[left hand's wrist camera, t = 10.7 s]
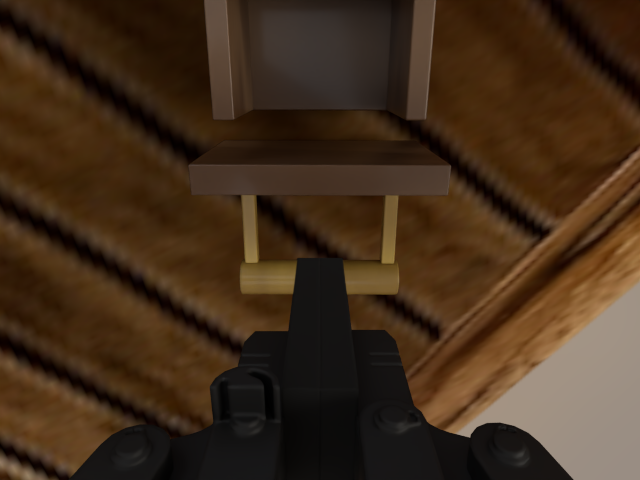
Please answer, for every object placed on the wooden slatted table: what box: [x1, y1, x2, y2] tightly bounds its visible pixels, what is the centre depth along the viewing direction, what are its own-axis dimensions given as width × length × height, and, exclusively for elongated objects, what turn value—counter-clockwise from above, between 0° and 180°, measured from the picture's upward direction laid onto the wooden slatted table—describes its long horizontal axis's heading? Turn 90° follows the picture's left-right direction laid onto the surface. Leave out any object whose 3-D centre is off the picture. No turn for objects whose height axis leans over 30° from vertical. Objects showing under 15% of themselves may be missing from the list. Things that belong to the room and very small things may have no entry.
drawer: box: [188, 0, 451, 294], centre depth 19 cm, size 21×10×7 cm, turn 0°
